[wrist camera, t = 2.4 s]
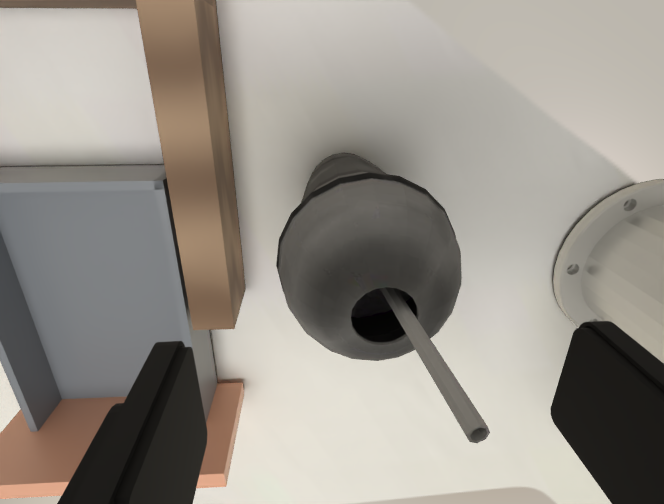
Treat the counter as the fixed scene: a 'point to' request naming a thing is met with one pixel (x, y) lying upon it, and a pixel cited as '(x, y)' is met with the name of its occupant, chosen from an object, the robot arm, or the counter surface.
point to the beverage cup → (374, 271)
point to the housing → (190, 146)
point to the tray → (91, 316)
